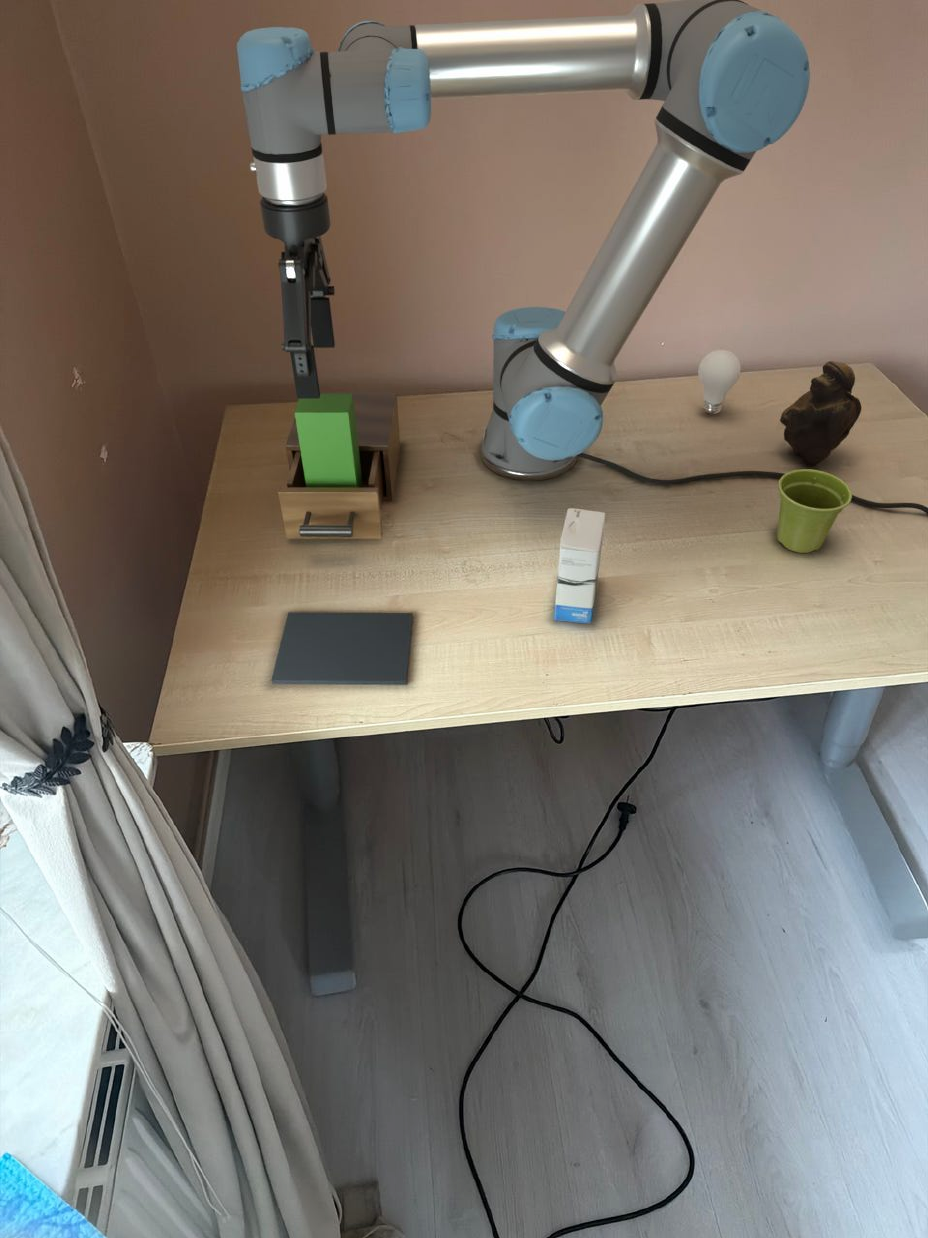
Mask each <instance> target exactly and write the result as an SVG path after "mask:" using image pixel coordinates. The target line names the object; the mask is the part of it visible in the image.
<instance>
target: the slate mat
mask: <svg viewBox="0 0 928 1238" xmlns="http://www.w3.org/2000/svg"><path fill="white" fill-rule="evenodd" d="M413 621H414V613H413V612H314V611H313V612H311V611H310V612H306V611H305V612H299V611H298V612H294V611H292V612H289V611H288V612H287V616H286V619H285V624H284V628H283V632H282V636H281V639H280V643H279V648H278V651H277V656H276V660H275V664H274V668H273V672H272V676H271V680H270V681H271V684H273V685H274V684H275V685H276V684H278V685H279V684H280V685H281V684H282V685H402V686H403V685H406V686H407V683H408V674H409V673H408V672H409V662H410V652H411V642H412V641H411V640H412V631H413Z"/></svg>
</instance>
